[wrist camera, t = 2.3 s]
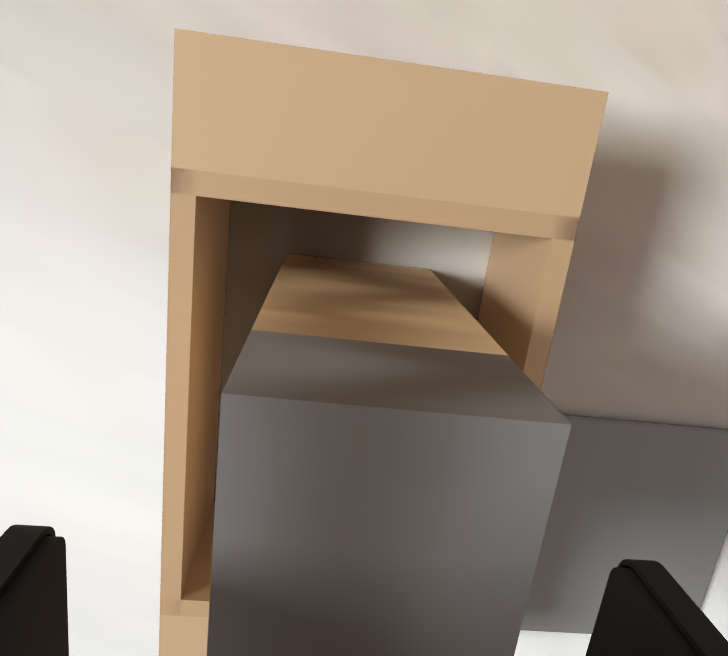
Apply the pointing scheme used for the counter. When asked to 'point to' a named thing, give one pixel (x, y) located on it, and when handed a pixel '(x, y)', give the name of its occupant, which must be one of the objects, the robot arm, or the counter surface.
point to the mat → (628, 515)
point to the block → (376, 473)
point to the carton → (348, 196)
